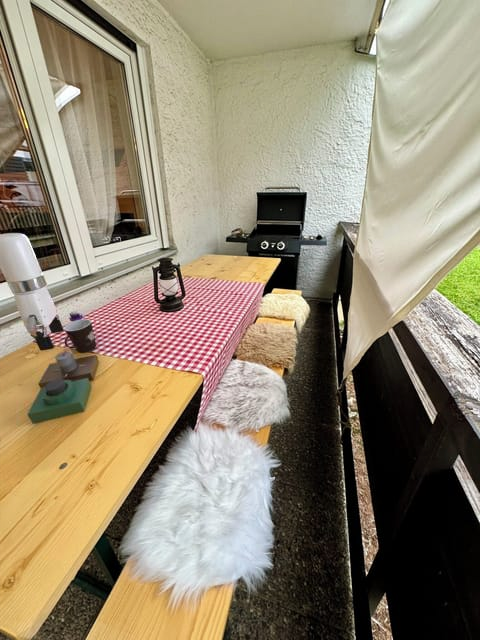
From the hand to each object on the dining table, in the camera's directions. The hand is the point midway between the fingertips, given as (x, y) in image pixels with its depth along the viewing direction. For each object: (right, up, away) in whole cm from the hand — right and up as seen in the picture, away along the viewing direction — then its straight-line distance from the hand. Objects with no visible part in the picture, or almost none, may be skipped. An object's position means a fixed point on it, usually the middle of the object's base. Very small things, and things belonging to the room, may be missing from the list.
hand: (53, 340), depth 74 cm
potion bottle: (-7, -2, +27) cm, 28 cm away
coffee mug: (-4, -6, +21) cm, 22 cm away
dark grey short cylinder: (+5, -13, -5) cm, 15 cm away
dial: (0, -9, +7) cm, 11 cm away
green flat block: (+5, -18, -3) cm, 19 cm away
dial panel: (+1, -12, +8) cm, 14 cm away
